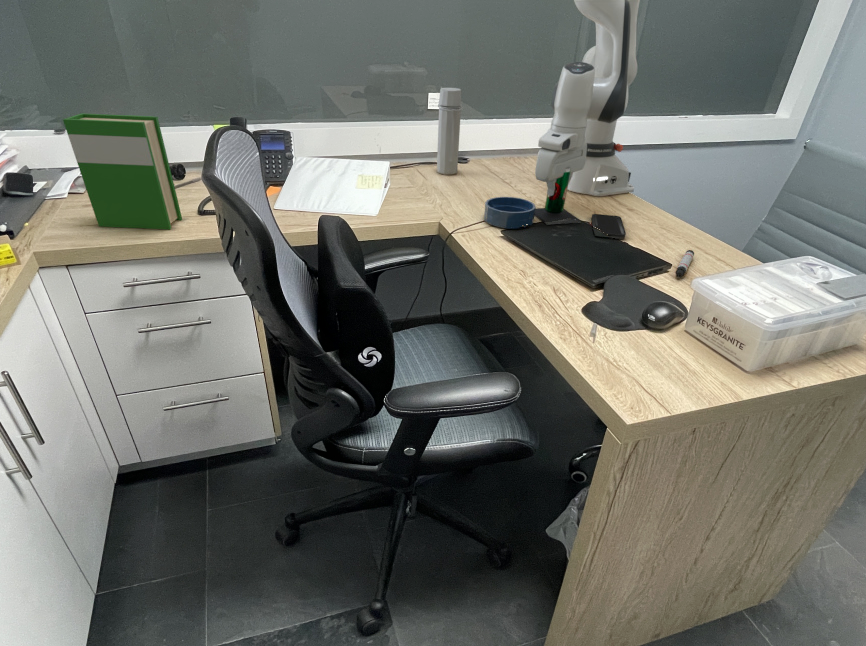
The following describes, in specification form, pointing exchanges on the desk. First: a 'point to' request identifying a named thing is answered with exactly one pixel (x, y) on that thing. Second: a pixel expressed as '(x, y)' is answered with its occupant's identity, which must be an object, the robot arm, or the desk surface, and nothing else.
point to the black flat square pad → (552, 215)
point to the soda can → (558, 194)
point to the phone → (609, 225)
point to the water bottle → (448, 130)
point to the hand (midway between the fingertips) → (557, 192)
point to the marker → (684, 263)
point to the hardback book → (124, 170)
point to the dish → (509, 212)
